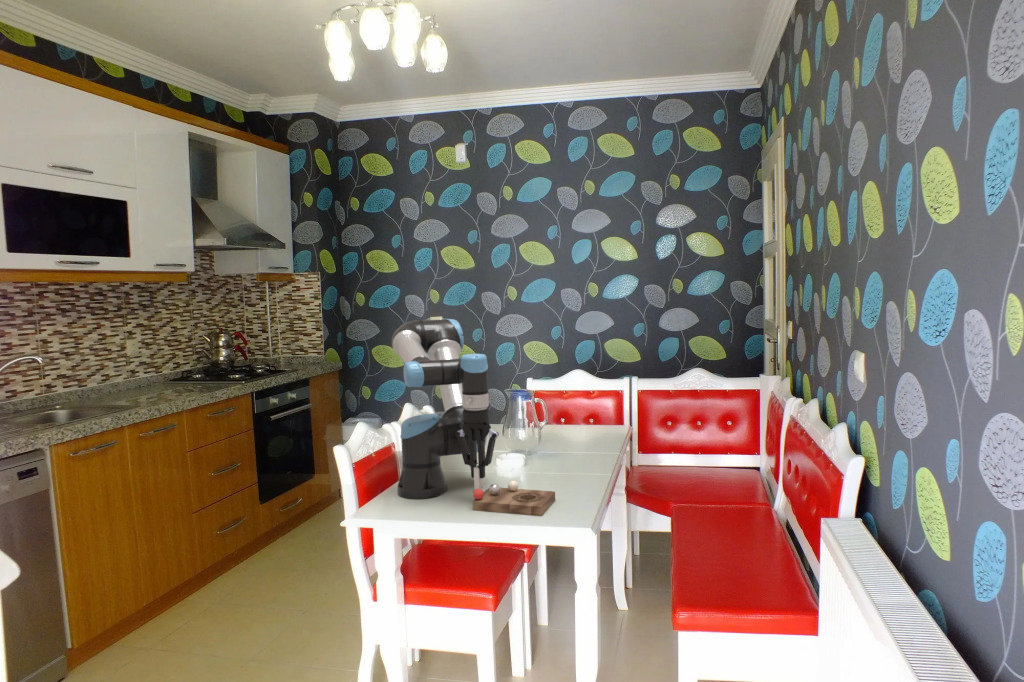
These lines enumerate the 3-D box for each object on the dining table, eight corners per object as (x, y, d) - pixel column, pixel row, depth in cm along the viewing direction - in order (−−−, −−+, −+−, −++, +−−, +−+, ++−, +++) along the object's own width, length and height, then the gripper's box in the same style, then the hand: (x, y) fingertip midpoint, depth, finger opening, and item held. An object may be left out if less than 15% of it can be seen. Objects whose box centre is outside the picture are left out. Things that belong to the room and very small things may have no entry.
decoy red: (471, 500, 189) (471, 490, 188) (475, 497, 191) (475, 487, 191) (481, 501, 188) (481, 490, 187) (485, 498, 190) (485, 487, 190)
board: (472, 510, 188) (472, 501, 188) (490, 495, 201) (490, 486, 201) (541, 515, 182) (541, 506, 181) (555, 500, 195) (555, 491, 195)
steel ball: (487, 496, 192) (487, 485, 192) (491, 492, 195) (491, 482, 195) (498, 496, 191) (497, 485, 191) (501, 493, 194) (501, 482, 194)
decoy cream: (506, 492, 196) (506, 481, 195) (510, 489, 198) (509, 479, 198) (516, 492, 195) (516, 482, 194) (519, 489, 197) (519, 479, 197)
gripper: (449, 409, 191) (452, 491, 193) (492, 411, 187) (495, 494, 189) (460, 405, 199) (463, 483, 200) (501, 406, 194) (504, 486, 196)
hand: (478, 488), depth 195 cm, fingers closed
